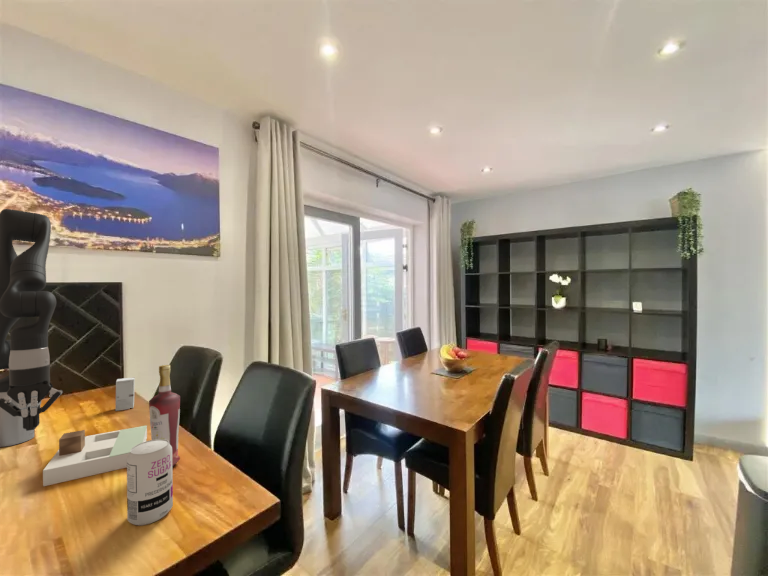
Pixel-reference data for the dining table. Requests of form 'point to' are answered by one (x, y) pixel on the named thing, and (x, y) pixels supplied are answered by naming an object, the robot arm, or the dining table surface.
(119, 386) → the skincare box
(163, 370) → the liquor
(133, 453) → the supplement can
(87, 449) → the trap plank
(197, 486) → the dining table surface
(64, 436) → the walnut block
